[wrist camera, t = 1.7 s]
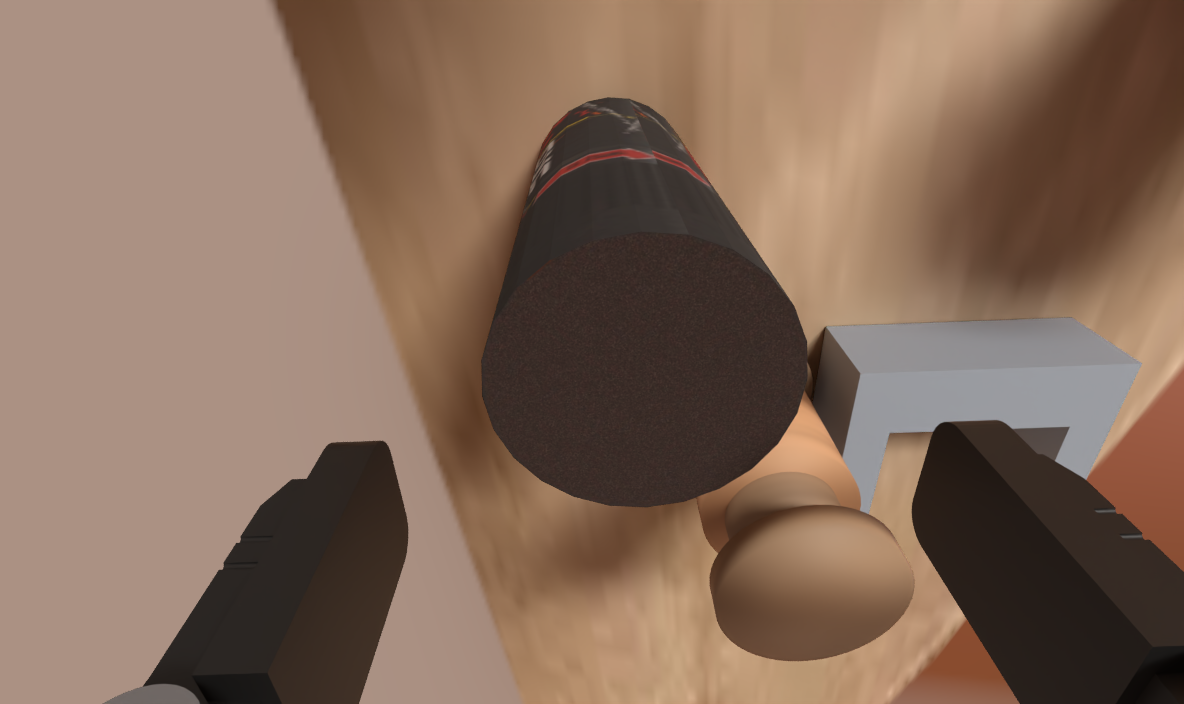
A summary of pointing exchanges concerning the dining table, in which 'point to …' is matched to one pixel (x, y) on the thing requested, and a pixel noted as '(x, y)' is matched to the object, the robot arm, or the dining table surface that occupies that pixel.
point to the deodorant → (637, 322)
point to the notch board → (970, 386)
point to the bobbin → (802, 552)
